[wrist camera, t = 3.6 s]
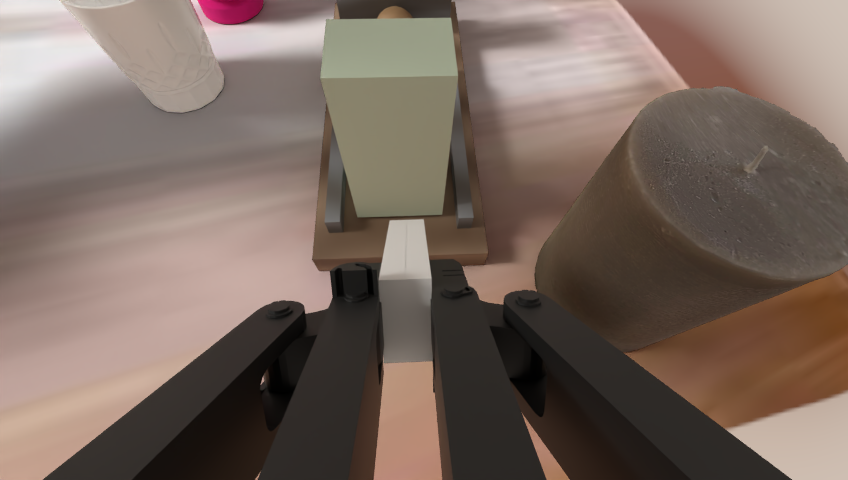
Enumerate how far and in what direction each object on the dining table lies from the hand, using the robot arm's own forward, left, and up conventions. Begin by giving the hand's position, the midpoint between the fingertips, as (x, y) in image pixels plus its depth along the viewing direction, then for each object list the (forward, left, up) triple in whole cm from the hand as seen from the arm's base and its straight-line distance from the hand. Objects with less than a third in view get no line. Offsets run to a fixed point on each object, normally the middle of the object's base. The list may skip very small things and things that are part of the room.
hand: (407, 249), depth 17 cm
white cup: (-27, +14, -11) cm, 32 cm away
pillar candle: (+12, +6, -11) cm, 18 cm away
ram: (-4, +8, -8) cm, 12 cm away
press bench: (-7, +16, -11) cm, 20 cm away
